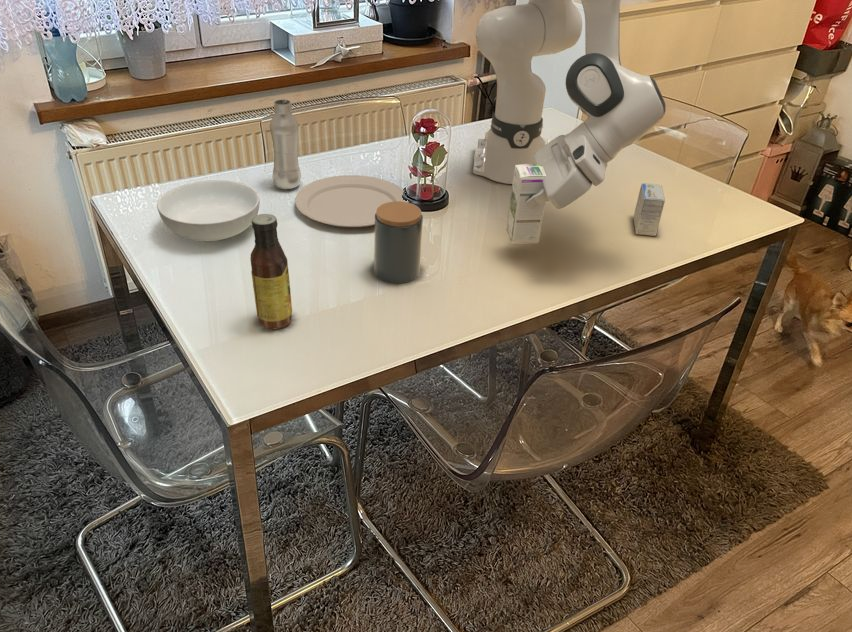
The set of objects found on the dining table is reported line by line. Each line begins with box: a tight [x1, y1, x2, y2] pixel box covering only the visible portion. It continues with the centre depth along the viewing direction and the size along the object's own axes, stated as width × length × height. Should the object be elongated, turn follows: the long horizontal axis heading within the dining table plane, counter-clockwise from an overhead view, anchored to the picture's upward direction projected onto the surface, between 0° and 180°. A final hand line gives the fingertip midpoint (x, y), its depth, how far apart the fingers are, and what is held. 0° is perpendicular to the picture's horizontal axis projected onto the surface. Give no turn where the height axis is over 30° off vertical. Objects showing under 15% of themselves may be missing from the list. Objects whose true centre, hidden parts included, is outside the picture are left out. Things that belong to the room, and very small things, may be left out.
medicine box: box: [632, 182, 666, 237], centre depth 159 cm, size 8×4×9 cm, turn 168°
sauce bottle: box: [249, 213, 293, 330], centre depth 124 cm, size 7×6×20 cm
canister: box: [373, 201, 424, 284], centre depth 140 cm, size 9×9×13 cm
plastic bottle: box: [269, 99, 302, 190], centre depth 168 cm, size 6×7×20 cm
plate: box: [294, 174, 410, 228], centre depth 165 cm, size 26×26×2 cm
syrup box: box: [506, 164, 546, 244], centre depth 144 cm, size 6×6×14 cm
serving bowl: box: [156, 179, 261, 242], centre depth 154 cm, size 21×21×7 cm
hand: (525, 196), depth 143 cm, fingers closed on syrup box, 6 cm apart
